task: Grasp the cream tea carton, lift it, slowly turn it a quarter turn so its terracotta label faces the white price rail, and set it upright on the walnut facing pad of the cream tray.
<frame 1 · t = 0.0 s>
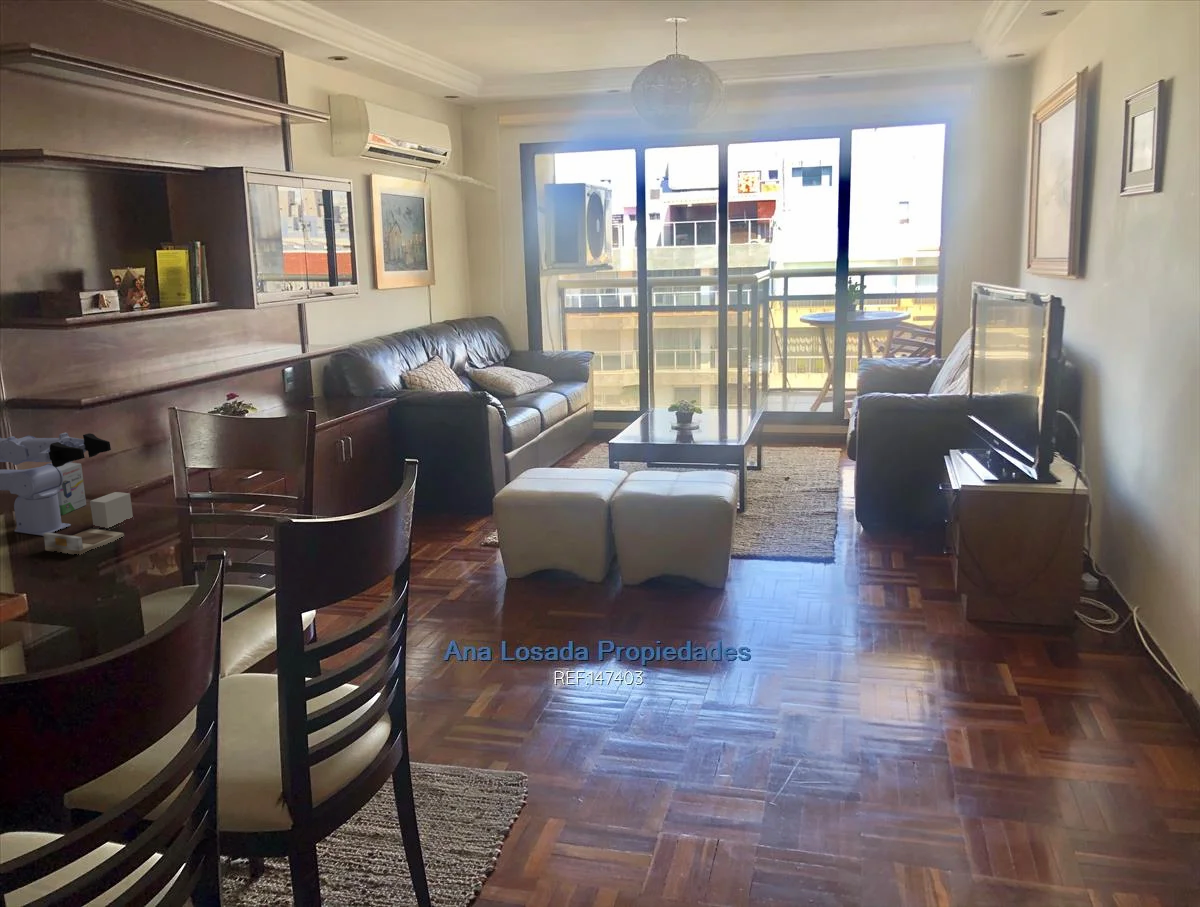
hand: (96, 449, 218), 22 cm above the table, tool horizontal, fingers open, 7 cm apart
cream tray: (85, 543, 220), on the table
tea carton: (113, 524, 234), on the table
ink box: (67, 510, 244), on the table
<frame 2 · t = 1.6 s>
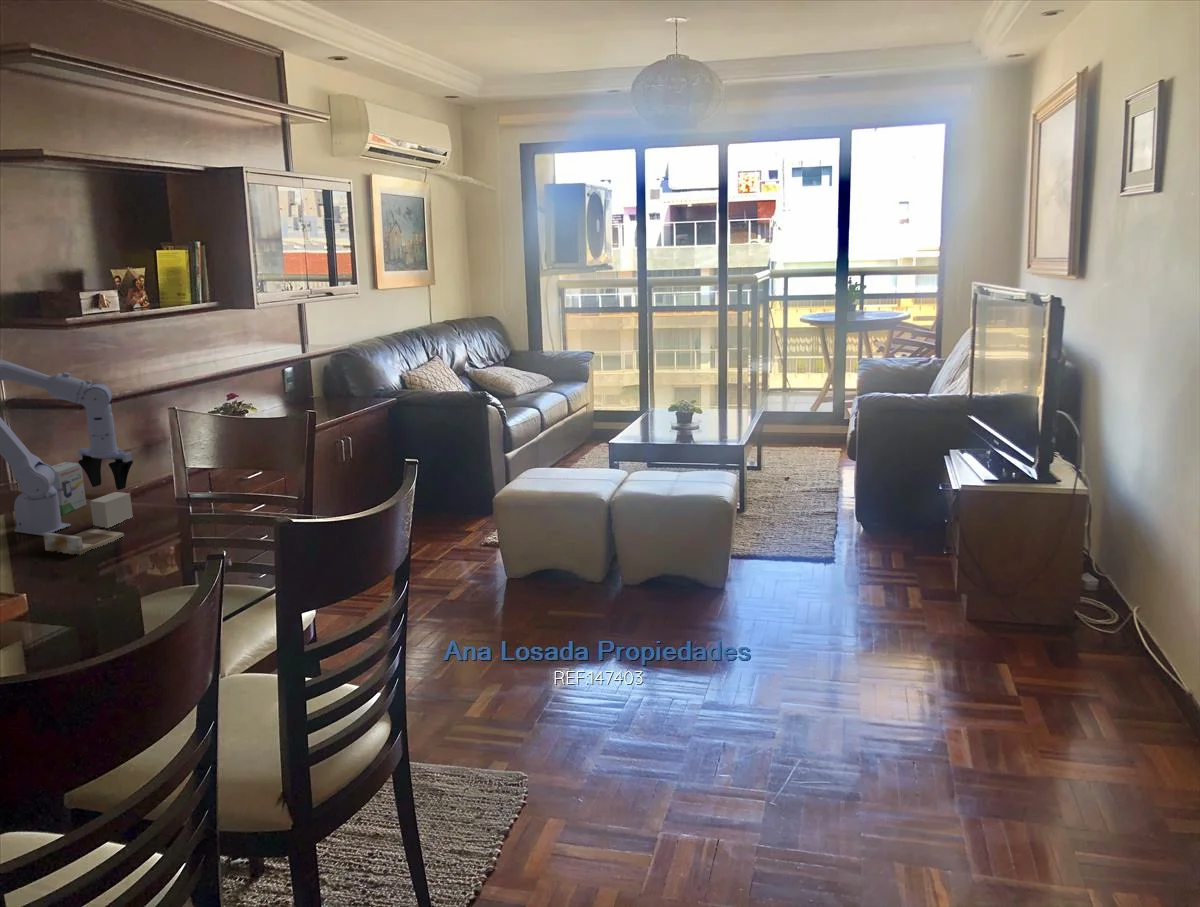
hand: (109, 487, 231), 9 cm above the table, tool pointing down, fingers open, 7 cm apart
nothing on the table moved.
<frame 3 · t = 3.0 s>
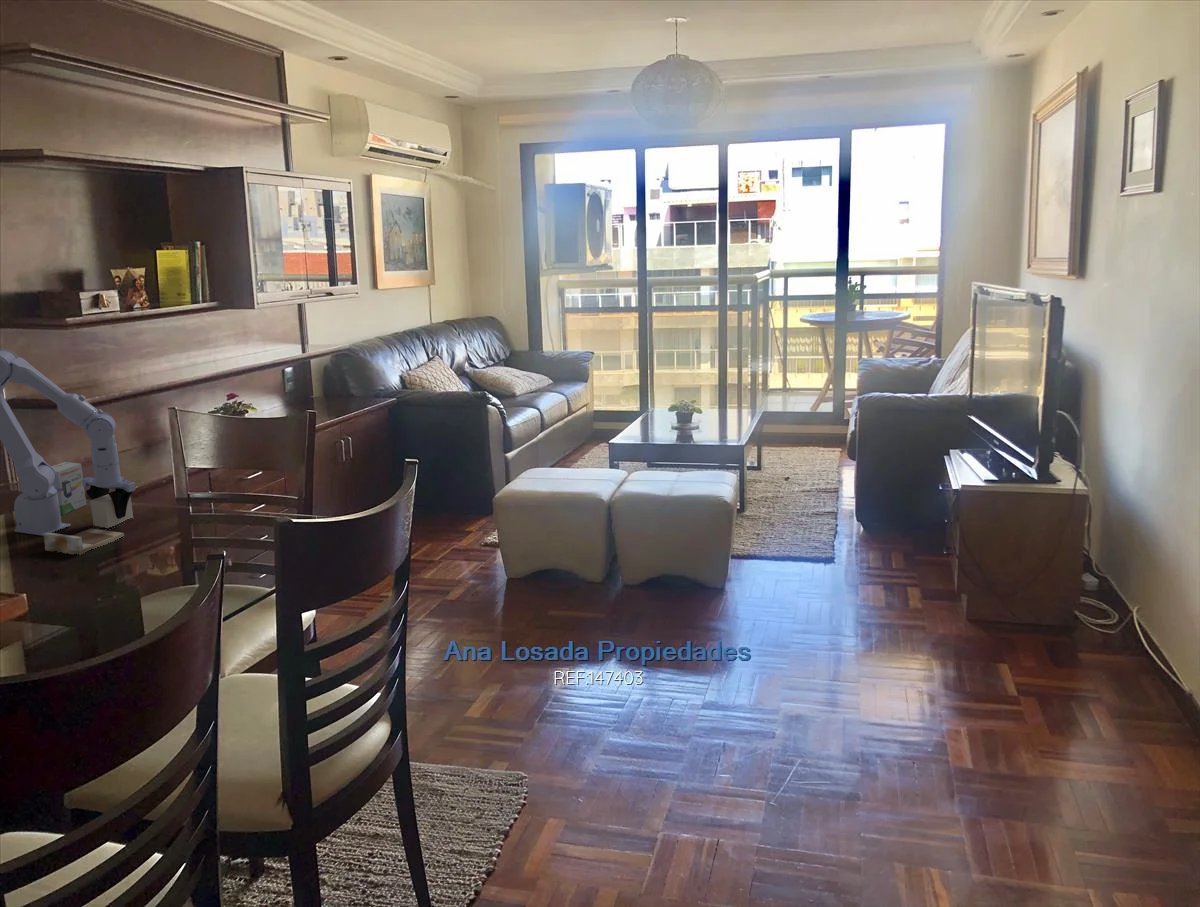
hand: (112, 516, 233), 2 cm above the table, tool pointing down, fingers closed on tea carton, 5 cm apart
tea carton: (114, 523, 234), on the table, touching gripper
everything else where it was.
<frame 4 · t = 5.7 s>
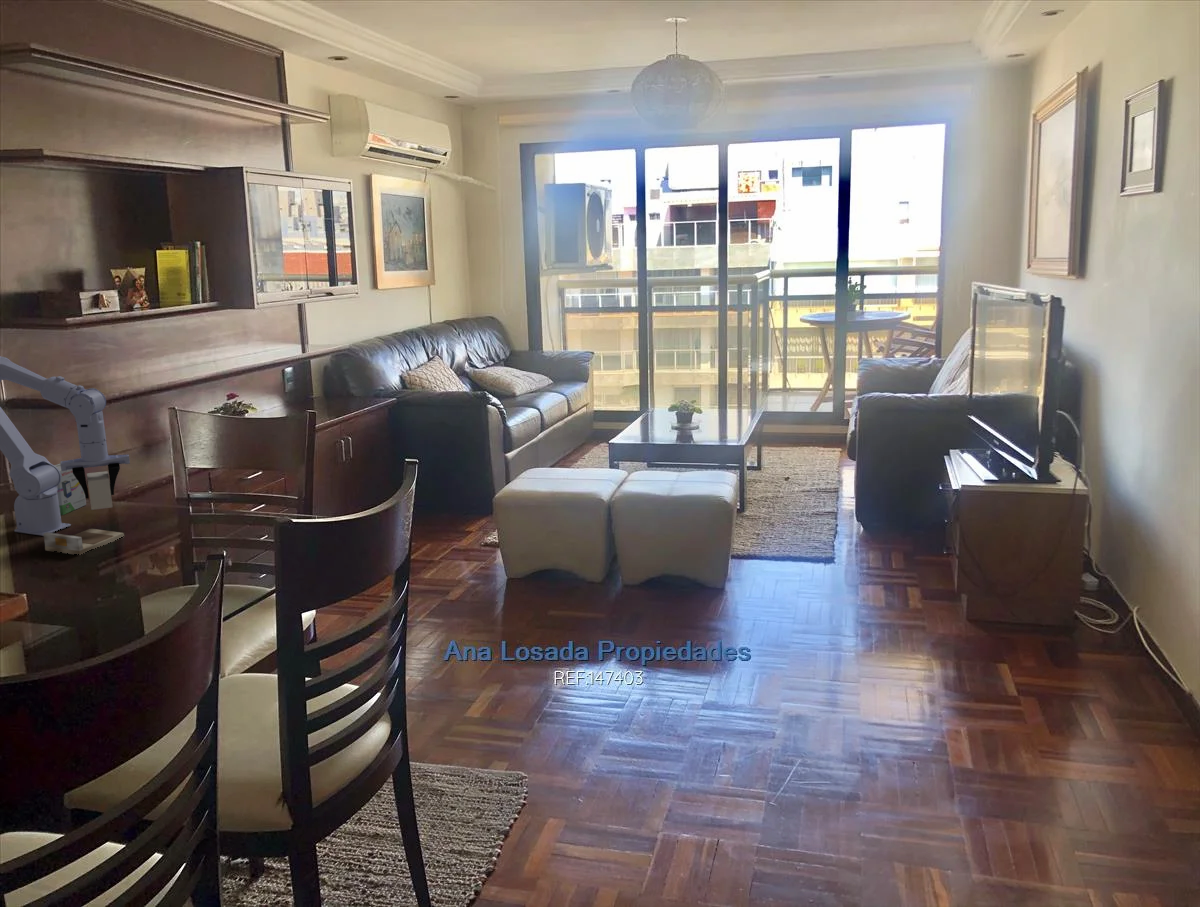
hand: (99, 495, 227), 9 cm above the table, tool pointing down, fingers closed on tea carton, 5 cm apart
tea carton: (101, 504, 227), point 7 cm above the table, touching gripper
everything else where it was.
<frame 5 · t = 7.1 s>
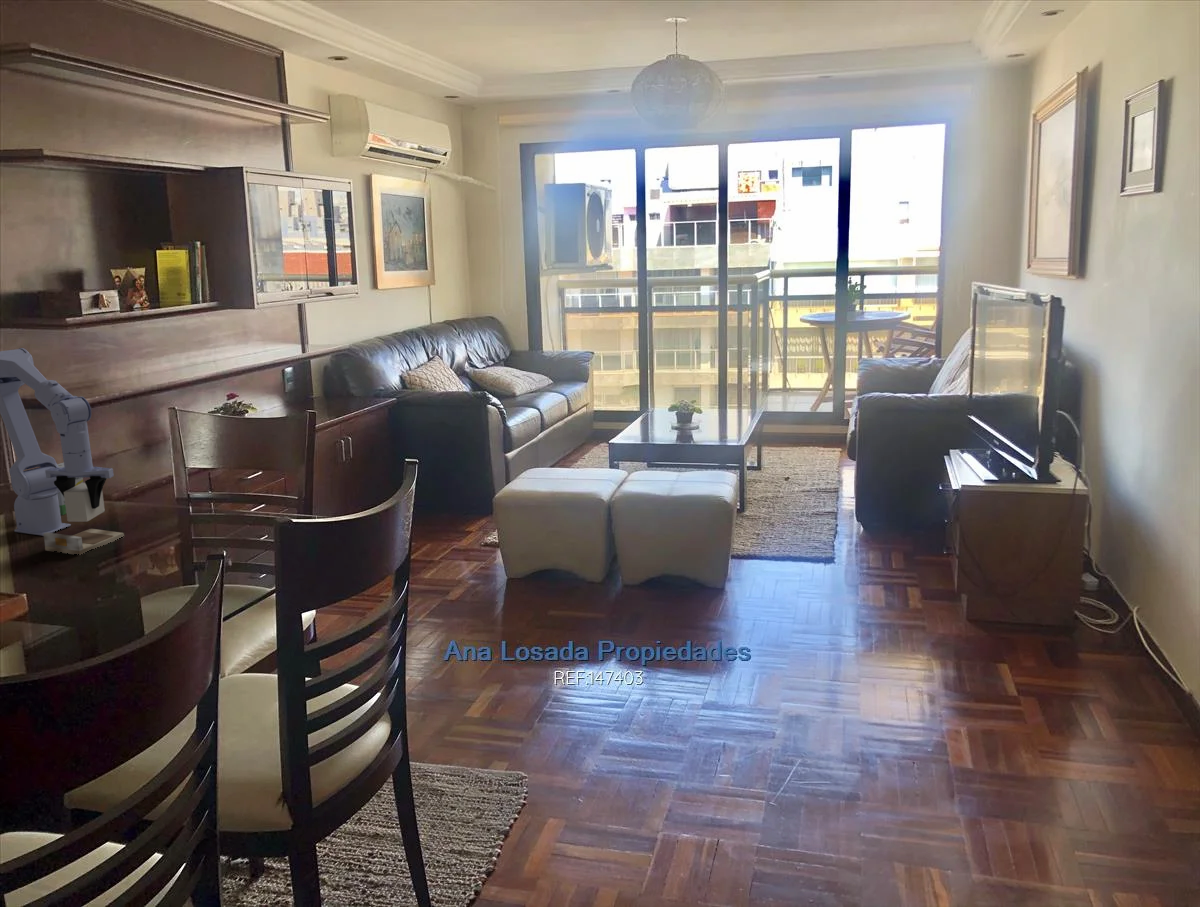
hand: (84, 507, 219), 9 cm above the table, tool pointing down, fingers closed on tea carton, 5 cm apart
tea carton: (86, 516, 219), point 6 cm above the table, touching gripper
everything else where it was.
when the fingers open (4 cm above the table, at t = 8.4 s): tea carton stays where it is, resting on cream tray.
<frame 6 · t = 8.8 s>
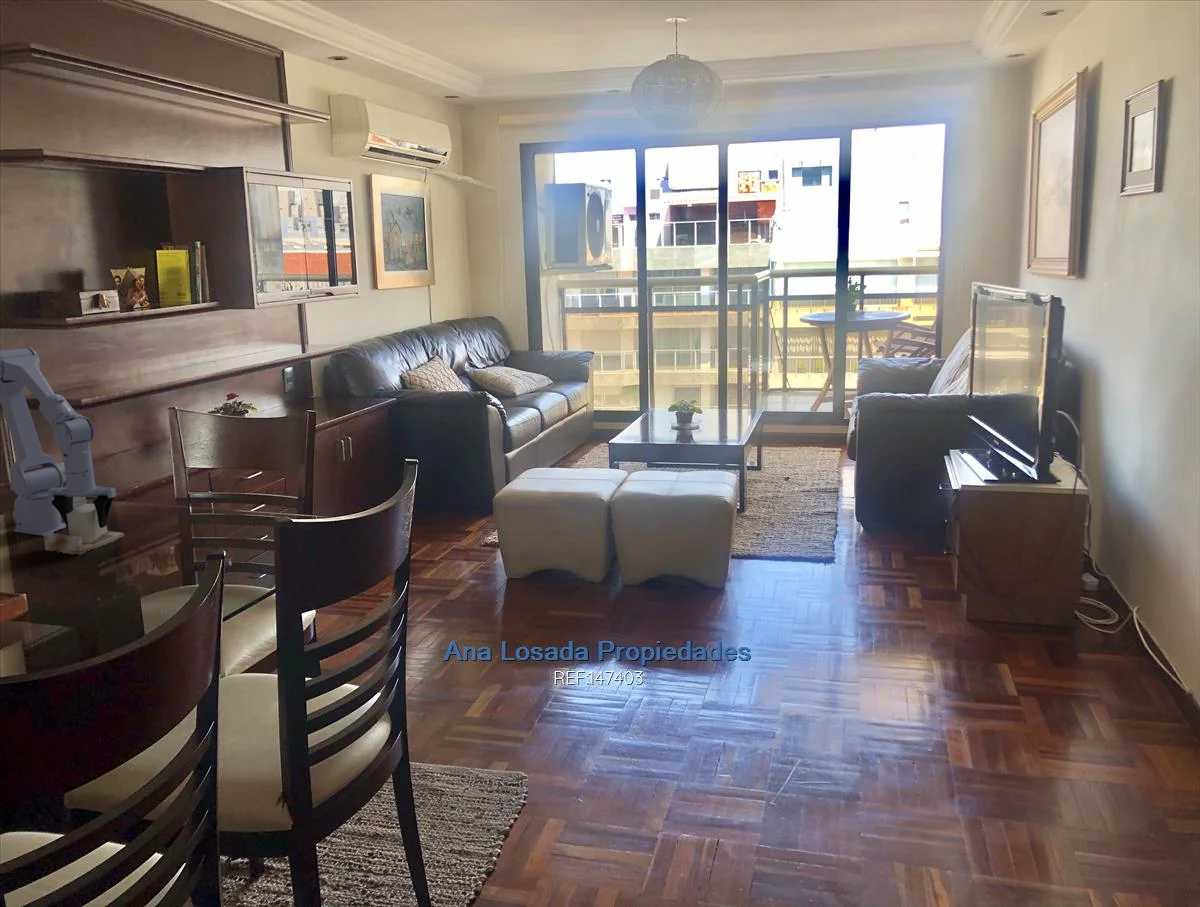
hand: (86, 526, 220), 4 cm above the table, tool pointing down, fingers open, 7 cm apart
tea carton: (89, 537, 221), point 1 cm above the table, touching cream tray
everything else where it was.
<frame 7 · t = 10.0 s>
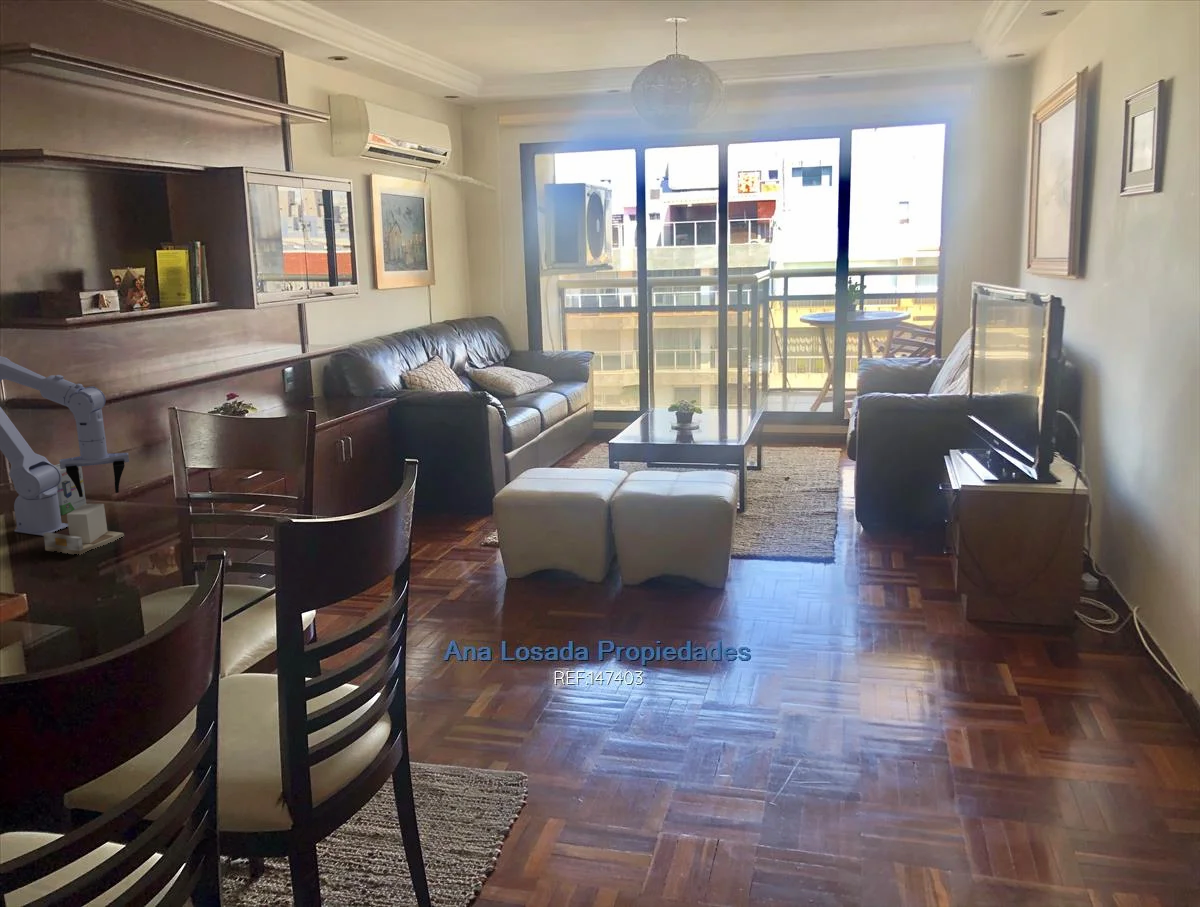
hand: (99, 493, 226), 9 cm above the table, tool pointing down, fingers open, 7 cm apart
nothing on the table moved.
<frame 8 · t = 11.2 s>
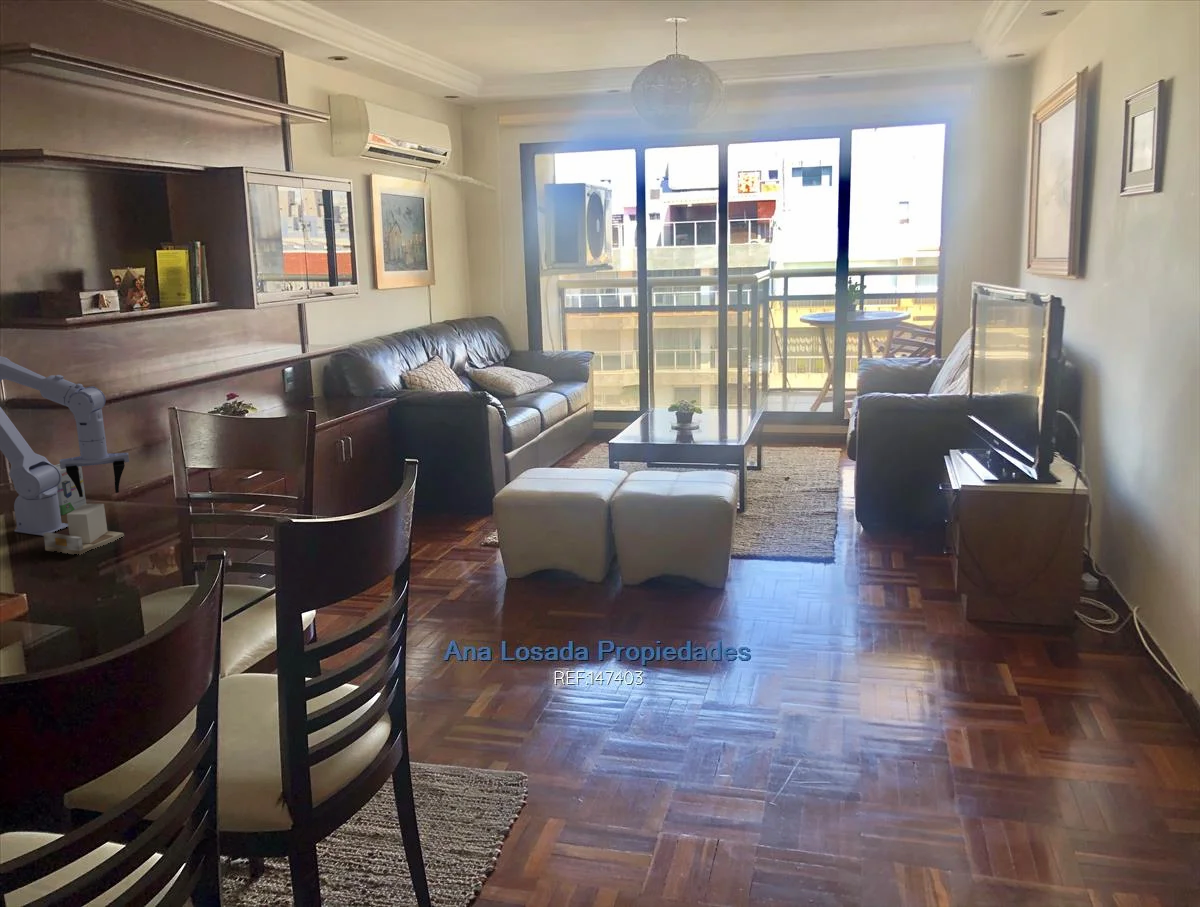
hand: (99, 493, 226), 9 cm above the table, tool pointing down, fingers open, 7 cm apart
nothing on the table moved.
at the end: tea carton 0.2 cm from the target spot, point 1.1 cm above the table; tea carton tilted 0°; the gripper is holding nothing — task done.
